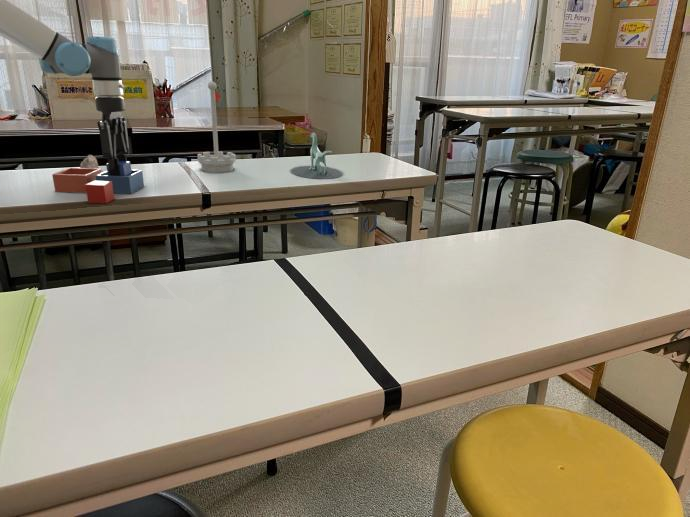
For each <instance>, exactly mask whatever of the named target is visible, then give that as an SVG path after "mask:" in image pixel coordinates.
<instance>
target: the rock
mask: <svg viewBox="0 0 690 517" xmlns="http://www.w3.org/2000/svg"><path fill="white" fill-rule="evenodd" d="M79 168H92V169H100V166H99V163H98V160H97V157H96V156H93V155H92V154H87V157H85V158H84V159H83V161H81V162H80V166H79ZM103 172H105V171H104V170H102V173H103Z"/></svg>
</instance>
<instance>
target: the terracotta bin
mask: <svg viewBox="0 0 690 517" xmlns="http://www.w3.org/2000/svg"><path fill="white" fill-rule="evenodd" d="M102 171H103V170H102V168H99V169H92V168H80V167H68V168H66V169H62V170H59V171H57V172H54V173H52V175H51V176H52V182H53V186H54V192H56V193H80V194H81V193H82V194H83V193H84V194H87V193H86V186H85V185H86V184H88V183H90V182H92V181H96V175H98V174H101V173H102Z"/></svg>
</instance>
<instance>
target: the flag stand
mask: <svg viewBox="0 0 690 517" xmlns="http://www.w3.org/2000/svg"><path fill="white" fill-rule="evenodd" d="M207 88H208V90H209V92H210V93H209V94H210V108H211V126H212V139H213V140H212V141H213V154H211V152H210V151H203V152H202V153H197V162H198V163H199V164H200V167H201V171H202V172H206V173H229V172H231V171H234V164H235V163H236V153H234V152H230V151H228V152H226V154H224V152H223V151H219V139H218V138H219V136H218V122H217V121H218V120H217V119H218V118H217V108H216V107H217V105H216V104H217V101H219V99H220V98H221V95H220V94H219V93H218V92H216V90H217V83H216V82H215V81H213V80H212V81H209V82H207Z"/></svg>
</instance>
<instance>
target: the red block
mask: <svg viewBox="0 0 690 517" xmlns="http://www.w3.org/2000/svg"><path fill="white" fill-rule="evenodd" d="M85 186H86V193H85V194H86V199H87V203H88V204H108V203H110V202H111V201H113V200H115V194H114V193H113V186H112V181H92V182H90V183H88V184H86V185H85Z"/></svg>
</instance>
